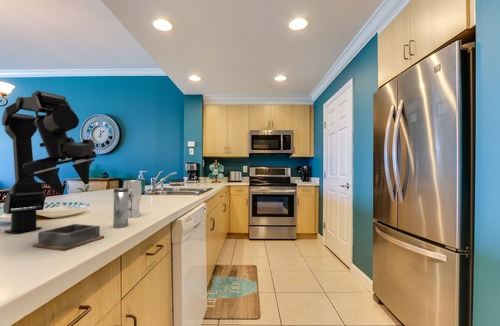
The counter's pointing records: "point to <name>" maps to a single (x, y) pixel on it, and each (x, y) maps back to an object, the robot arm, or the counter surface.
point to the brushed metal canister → (120, 208)
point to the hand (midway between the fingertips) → (75, 188)
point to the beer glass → (133, 197)
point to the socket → (68, 237)
